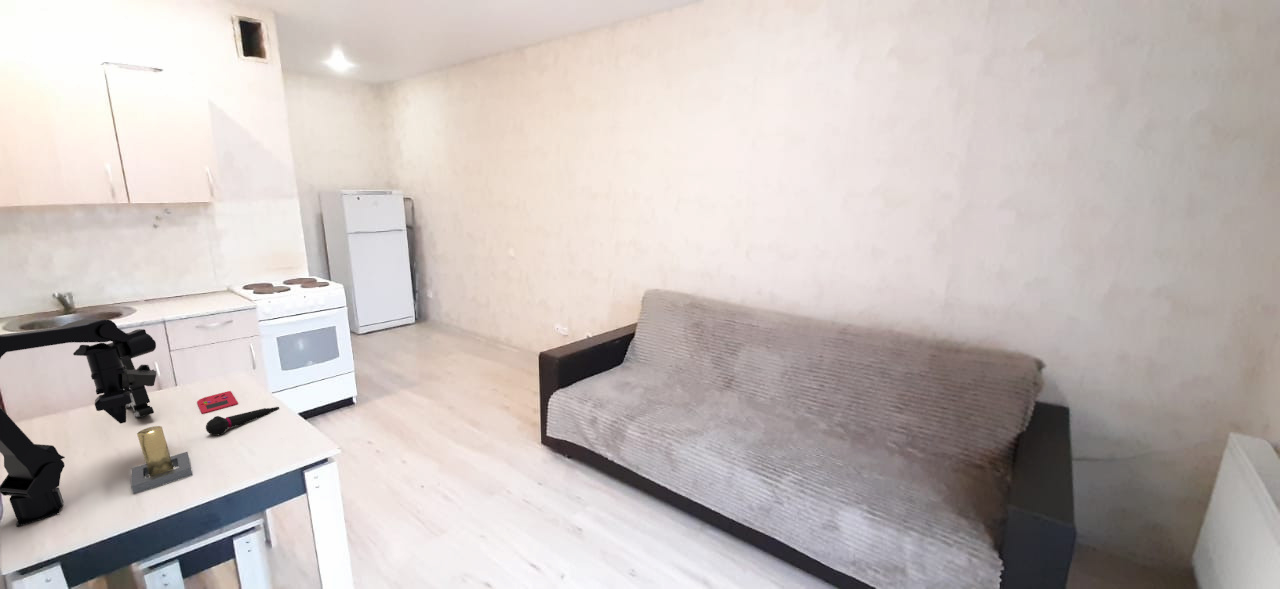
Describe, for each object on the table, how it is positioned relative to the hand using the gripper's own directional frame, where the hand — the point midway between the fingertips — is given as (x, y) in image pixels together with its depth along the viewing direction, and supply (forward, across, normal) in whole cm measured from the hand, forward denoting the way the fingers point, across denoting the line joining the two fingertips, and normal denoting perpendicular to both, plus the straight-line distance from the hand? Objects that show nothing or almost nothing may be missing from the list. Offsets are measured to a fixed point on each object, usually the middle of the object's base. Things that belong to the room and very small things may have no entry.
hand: (123, 421), depth 132 cm
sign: (+13, +41, -1) cm, 43 cm away
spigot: (+13, -12, -5) cm, 18 cm away
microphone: (+14, +7, -25) cm, 29 cm away
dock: (+13, -12, -5) cm, 18 cm away
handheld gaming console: (+14, +33, -20) cm, 41 cm away
